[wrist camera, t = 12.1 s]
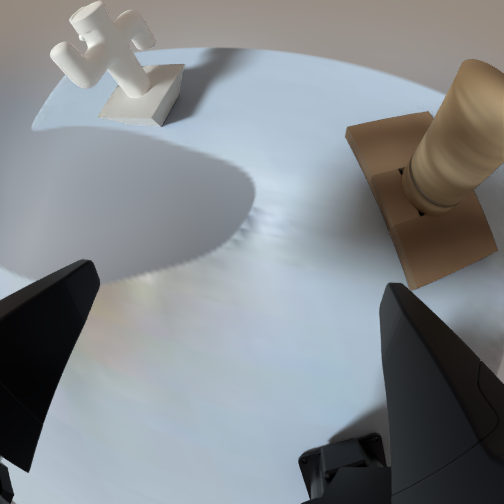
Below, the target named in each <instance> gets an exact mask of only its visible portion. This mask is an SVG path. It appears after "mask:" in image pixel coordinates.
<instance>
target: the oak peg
mask: <svg viewBox="0 0 504 504" xmlns="http://www.w3.org/2000/svg"><path fill="white" fill-rule="evenodd" d="M503 162H504V74H503V73H502V72H501V71H499V70H498V69H497V68H495V67H493V66H491V65H490V64H487V63H485V62H483V61H480V60H475V59H468V60H465V61H464V62H463V63H462V64H461V67H460V69H459V71H458V73H457V75H456V77H455V79H454V81H453V83H452V85H451V87H450V89H449V91H448V93H447V95H446V97H445V99H444V101H443V102H442V104H441V106H440V108H439V110H438V112H437V114H436V115H435V117H434V119H433V121H432V123H431V125H430V126H429V128H428V130H427V132H426V133H425V135H424V137H423V139H422V140H421V142H420V144H419V145H418V147H417V149H416V150H415V152H414V153H413V155H412V157H411V159H410V161H409V162H408V164H407V166H406V167H405V169H404V171H403V174H402V187H403V190H404V193H405V195H406V197H407V199H408V200H409V202H410V203H411V204H412V205H413V206H414V207H415V208H416V209H417V210H419V211H420V212H422V213H424V214H426V215H430V216H441V215H444V214H445V213H447V212H448V211H449V210H451V209H452V208H453V207H454V206H455V205H457V204H458V203H459V202H461V201H462V200H463V199H464V198H465V197H466V196H467V195H468V194H469V193H471V192H472V191H473V190H474V189H475V188H476V187H477V186H479V185H480V184H481V183H482V182H483V181H484V180H485V179H486V178H487V177H488V176H490V175H491V174H492V173H493V172H494V171H495V170H496V169H497V168H498V167H499V166H500V165H501V164H502V163H503Z"/></svg>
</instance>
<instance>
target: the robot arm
mask: <svg viewBox="0 0 504 504" xmlns="http://www.w3.org/2000/svg"><path fill="white" fill-rule="evenodd" d="M99 287H100V279H99V277H98V274H97V271H96V268H95V266H94V263H93V262H92V261H91V260H85V259H82V260H79V261H77V262H74V263H72V264H70V265H68V266H66V267H64V268H62V269H60V270H58V271H56V272H54V273H52V274H50V275H48V276H46V277H44V278H42V279H40V280H38V281H36V282H34V283H32V284H30V285H28V286H26V287H24V288H22V289H20V290H19V291H17V292H15V293H13V294H11V295H9V296H7V297H5V298H4V299H2V300H0V504H11V501H12V499H13V496H14V493H13V489H12V485H11V481H10V477H9V472H8V468H7V467H6V466H5V465H4V464H3V463H2V462H1V460H2V458H5V459H6V460H8V461H9V462H11V463H12V464H14V465H16V466H17V467H19V468H20V469H22V470H24V471H25V472H27V473H29V471H30V468H31V464H32V461H33V457H34V453H35V450H36V447H37V443H38V440H39V437H40V434H41V431H42V427H43V424H44V421H45V418H46V415H47V412H48V409H49V407H50V404H51V401H52V399H53V396H54V393H55V391H56V388H57V386H58V383H59V381H60V378H61V376H62V373H63V371H64V369H65V366H66V364H67V362H68V359H69V357H70V355H71V353H72V350H73V348H74V346H75V344H76V342H77V340H78V337H79V335H80V333H81V331H82V329H83V327H84V325H85V322H86V320H87V317H88V315H89V312H90V310H91V307H92V304H93V302H94V299H95V297H96V295H97V292H98V290H99ZM379 316H380V332H381V354H382V366H383V373H384V381H385V389H386V398H387V407H388V418H389V430H390V446H391V467H387V465H386V460H385V454H384V449H383V444H382V439H381V436H380V435H379V434H378V433H372V434H369V435H366V436H363V437H361V438H358V439H355V438H352V439H349V440H346V441H343V442H340V443H336V444H333V445H330V446H326V447H323V448H322V449H321V450H319V451H315V452H311V453H307V454H303V455H301V456H300V457H299V459H298V463H299V466H300V469H301V473H302V476H303V479H304V482H305V485H306V488H307V491H308V495H309V498H310V500H309V501H306V502H303V503H301V504H504V384H503V383H502V382H501V381H500V380H499V379H498V378H497V377H496V375H495V374H494V373H493V372H492V371H491V370H490V369H489V368H488V367H487V366H486V365H485V364H484V363H483V362H482V361H480V358H479V357H478V356H477V355H476V354H475V353H474V352H473V351H472V350H471V349H470V348H469V347H468V346H467V345H466V344H465V343H464V342H463V341H462V340H461V339H460V338H459V337H458V336H457V335H456V334H455V333H454V332H453V331H452V330H451V329H450V328H449V327H448V326H447V325H446V324H445V323H444V322H443V321H442V320H441V319H440V318H439V317H438V316H437V315H436V314H435V313H434V312H433V311H432V310H430V309H429V308H428V307H427V306H426V305H425V304H424V303H423V302H422V301H421V300H420V299H419V298H418V297H417V296H415V295H414V294H413V293H412V292H411V291H410V290H409V289H408V288H407V287H406V286H404V285H403V284H402V283H391V282H390V283H388V284H387V285H386V288H385V291H384V294H383V298H382V301H381V304H380V309H379ZM374 437H377V439H376V440H375V441H372V439H373V438H374ZM303 459H307V460H308V461H307V462H303V461H302V460H303Z"/></svg>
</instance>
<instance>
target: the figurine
mask: <svg viewBox="0 0 504 504" xmlns="http://www.w3.org/2000/svg"><path fill="white" fill-rule="evenodd" d="M70 23H71V24H72V25H73V27H74V28H75V30H76V31H77V33H78V34H80V35H79V39H80V40H81V41H84V40H85V41H86V42H87V45H88V50H87V52H86V53H85V54H84V55H81V53H80V52H79V51H78V50H77V49H76V48H75V46H74V45H73V44H72V43H70V42H67V41H64V42H61V43H59V44H57V45H56V46H55V47H54V48H53V49H52V50H51V53H50V56H51V58H52V60H53V61H54V62H55V63H56V64H57V65H58V66H59V68H60V69H61V70H62V71H63V72H64V73H65V74H66V75H67V76H68V78H69V79H70V80H71V81H72V82H73V83H75V84H76V85H77V86H79V87H81V88H84V89H88V88H91V87H93V86H95V85H96V84H97V83H98V81H99V80H100V79H101V77H102V76H103V75H104V73H105V72H106V71H107V70H108V71H109V73H110V74H111V75H112V77H113V78H114V79H115V80H116V82H117V83H118V84H119V85H118V86H117V87H116V89H115V90H114V92H113V93H112V95H111V96H110V98H109V99H108V101H107V103H106V104H105V106H104V107H103V109H102V111H101V112H100V114H99V115H98V117H100V118H104V119H109V120H113V121H117V122H121V123H125V124H129V125H142V126H156V127H162V125H163V123H164V121H165V119H166V117H167V116H168V114H169V112H170V110H171V108H172V107H173V105H174V103H175V102H176V100H177V98H178V96H179V92H180V86H181V81H182V76H183V71H184V66H185V64H170V65H151V66H141V65H140V63H139V61H138V60H137V58H136V57H135V55H134V54H133V52H132V50H131V49H130V46H129V42H130V41H131V40H132V41H133V43H134V44H135V46H136V47H137V48H138V49H139V50H148V49H150V48H152V47H154V46H155V44H156V39H155V37H154V35H153V33H152V32H151V30H150V28H149V26H148V24H147V22H146V21H145V19H144V17H143V16H142V15H141V14H140V13H139V12H138V11H136V10H127V11H125V12H123V13H122V14H121V15H120V16H119V17H118V18H117V19H116V20H115V21H114V22H113V21H112V19H111V17H110V16H109V13H108V11H107V9H106V7H105V5H104V3H103V2H102V1H97V2H94V3H91V4H90V5H88V6H86V7H82V8H80V9H79V10H78V11H76V12H75V13H74V14H73V15H72V16H71V18H70Z"/></svg>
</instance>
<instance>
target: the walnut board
mask: <svg viewBox="0 0 504 504" xmlns="http://www.w3.org/2000/svg"><path fill="white" fill-rule="evenodd" d="M432 121H433V117H432V116H431V114H430V113H429V111H427V112H421V113H415V114H409V115H403V116H397V117H392V118H387V119H382V120H377V121H372V122H367V123H363V124H358V125H354V126H349V127H347V130H346V135H345V138H346V139H347V141H348V143H349V145H350V147H351V149H352V151H353V153H354V155H355V157H356V159H357V161H358V163H359V165H360V167H361V169H362V171H363V173H364V175H365V177H366V179H367V181H368V184H369V186H370V188H371V190H372V192H373V195H374V197H375V199H376V201H377V204H378V206H379V208H380V211H381V213H382V215H383V218H384V220H385V223H386V225H387V227H388V230H389V232H390V235H391V238H392V240H393V243H394V245H395V248H396V251H397V254H398V256H399V259H400V262H401V265H402V268H403V270H404V273H405V276H406V279H407V282H408V286H409V289H410V291H411V290H414V289H418V288H420V287H422V286H425V285H427V284H429V283H432V282H434V281H436V280H438V279H441V278H443V277H445V276H447V275H449V274H451V273H454V272H456V271H458V270H460V269H462V268H464V267H466V266H468V265H470V264H472V263H474V262H476V261H478V260H480V259H482V258H484V257H486V256H488V255H490V254H492V253H494V252H496V251H498V249H497V246H496V243H495V241H494V238H493V235H492V232H491V230H490V227H489V225H488V222H487V220H486V217H485V215H484V212H483V210H482V208H481V205H480V203H479V201H478V199H477V196H476V194H475V192H474V190H473V191H472V192H471V193H469V194H468V195H467V196H466V197H465V198H464V199H463V200H462V201H461V202H459V203H458V204H457V205H455V206H454V207H453V208H452V209H451V210H449V211H448V212H447V213H445V214H444V215H441V216H430V215H423V216H420V215H419V213H418V210H417V209H416V208H415V207H414V206H413V205H412V204H411V203H410V202H409V200H408V199H407V197H406V195H405V193H404V190H403V187H402V176H401V175H402V174H403V171H404V169H405V167H406V166H407V164H408V162H409V161H410V159H411V157H412V155H413V153H414V152H415V150H416V149H417V147H418V145H419V144H420V142H421V140H422V139H423V137H424V135H425V133H426V132H427V130H428V128H429V126H430V125H431V123H432Z"/></svg>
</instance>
